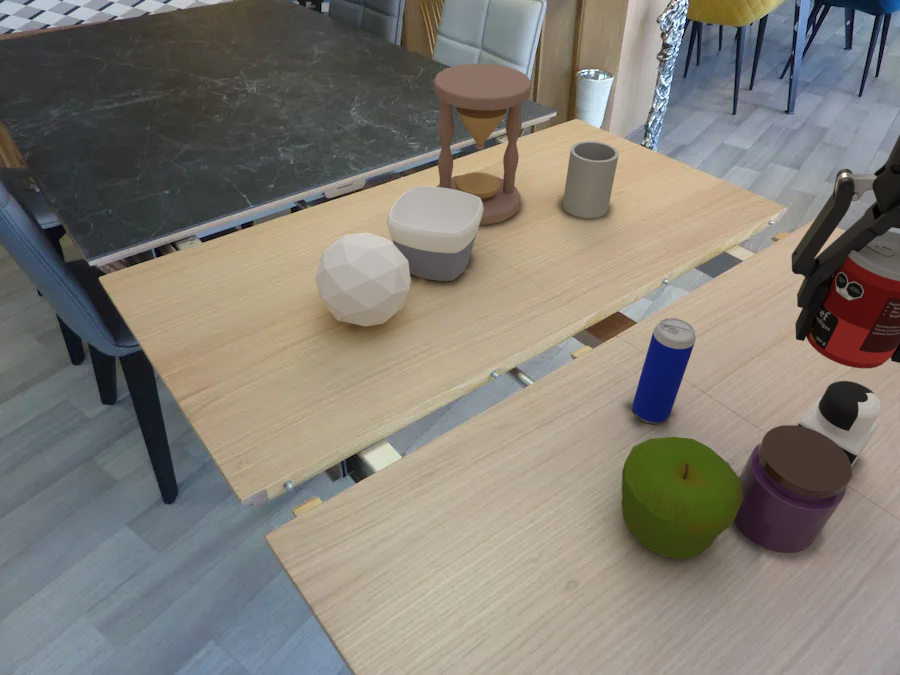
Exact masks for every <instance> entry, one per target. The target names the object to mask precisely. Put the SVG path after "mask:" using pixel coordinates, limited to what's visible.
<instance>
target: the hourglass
mask: <svg viewBox="0 0 900 675" xmlns="http://www.w3.org/2000/svg"><path fill="white" fill-rule="evenodd" d="M531 90H532V80H531V79H530V78H529V76H528V75H527V74H526V73H524V72H522V71H520V70H518V69H516V68H512V67H509V66H505V65H501V64H491V63H467V64H466V63H465V64H458V65H454V66H451V67H447V68H445V69H443V70H441V71H440V72H438V73H436V76H435V77H434V79H433V91H434V94H435V96H436V98H438V99H439V101H440V102H439V121H438V124H437V125H438V127H437V128H438V129H437V130H438V131H437V133H438V138H439V141H440V145H441V148H440V149H441V150H440V153H439V156H438V159H437V169H438V176H439V184H438V185H437V186H436V187H441V188H448V189H453V190H458V191H462V192H466V193H469V194H472V195H475V196H477V197H479V198H480V199H481V200H482V203H483V208H484V209H483V214H482V218H481V221H480V224H479V226H488V225H494V224H500V223H502V222H504V221H507V220H508V219H511V218H512V217H514V215H515V214H516V213H517V212H518V211H519V210H520V202H521V193H520V192H519V190H518V188H517V187H516V186H515V182H516V172H517V168H518V164H519V157H520V156H519V151H518V145H517V142H518V139H519V137H520V134H521V131H522V125H523V121H522V120H523V119H522V107H523V106H522V105H523V103H525V102H526V101H527V100H529V98H530V95H531ZM454 107H455V109H456V112H457V115H458V117H459V119H460V120H461V122H462V124H463V126H464V127H465V129H466V130H467V131H468V133H469V135H470V137H472V139H473V140H474V142H475V149H476V150H478V151H483V150H484V149H485V142H487V140H488V139H489V137H490V136H491V135H492V134H493V133H494V132H495V130H496V129H497V128H498V126H499V125H500V124H501V123H502V121H503V120H504V119H505V116H506V114H507V117H506V122H505V132H506V137H507V138H506V139H507V145H506V148H505V151H504V154H503V158H502V159H503V160H502V164H503V178H502V177H498V176H495V175H493V174H490V173H488V172H487V173H486V172H481V171H480V172H479V171H478V172H477V171H475V172H467V173H464V174H459V175H454V176H452V175H453V171H454V169H453V168H454V158H453V153H452V151H451V145H452V142H453V139H454V134H455V122H454V116H453V114H454V111H453V109H454ZM507 111H508V112H507Z"/></svg>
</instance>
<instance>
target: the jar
mask: <svg viewBox="0 0 900 675" xmlns="http://www.w3.org/2000/svg"><path fill="white" fill-rule="evenodd" d="M852 467H853V466H852ZM852 467H851V463H850V461H849V459H848V457H847V455H846V454H845V452H844V451H843V450H842V449H841V448H840V447H839V446H838V445H837V444H836V443H835V442H834V441H832V440H831V439H830V438H828V437H827V436H825V435H823V434H821V433H819V432H817V431H815V430H812V429H809V428H806V427H801V426H798V425H793V424H785V425H778V426H776V427H773V428H771V429H770V430H768V431H767V432H766V433H765V434H764V435H763V438H762V439H761V442H759V443H758V444H757V445H755V447H753V449H752V451H751V453H750V454H749V457H748V459H747V461H746V462H745V465H744V467H743V469H742V472H741V473H740V476H738V477H739V478H740V480H741V483H742V491H743V501H742V503H741V506H740V508H739V510H738V513H737V515H736V517H735V520H734V522H733V524H734V525H735V526H736V528H737V529H738V530H739V531H740V532H741V533H742V534H743V535H744V536H745V537H746V538H747V539H748V540H750V541H752V542H753V543H754V544H756V545H758V546H759V547H761V548H764V549H766V550H769V551H772V552H776V553H780V554H795V553H801V552H803V551H805V550H807V549H808V548H810V547H811V546H812V545H813V544H814V542H815V541H816V540H817V538H818V536H819V535H820V534H821V532H822V530H823V529H824V528H825V526H826V525H827V523H828V521H829V520H830V518H831V517H832V515H833V514H834V513H835V511H836V509H837V508H838V506H839V505H840V504H841V502H842V500H843V499H844V497H845V495H846V489H847V485H848V484H849V482H850V481H851V478H852V475H853V468H852Z"/></svg>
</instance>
